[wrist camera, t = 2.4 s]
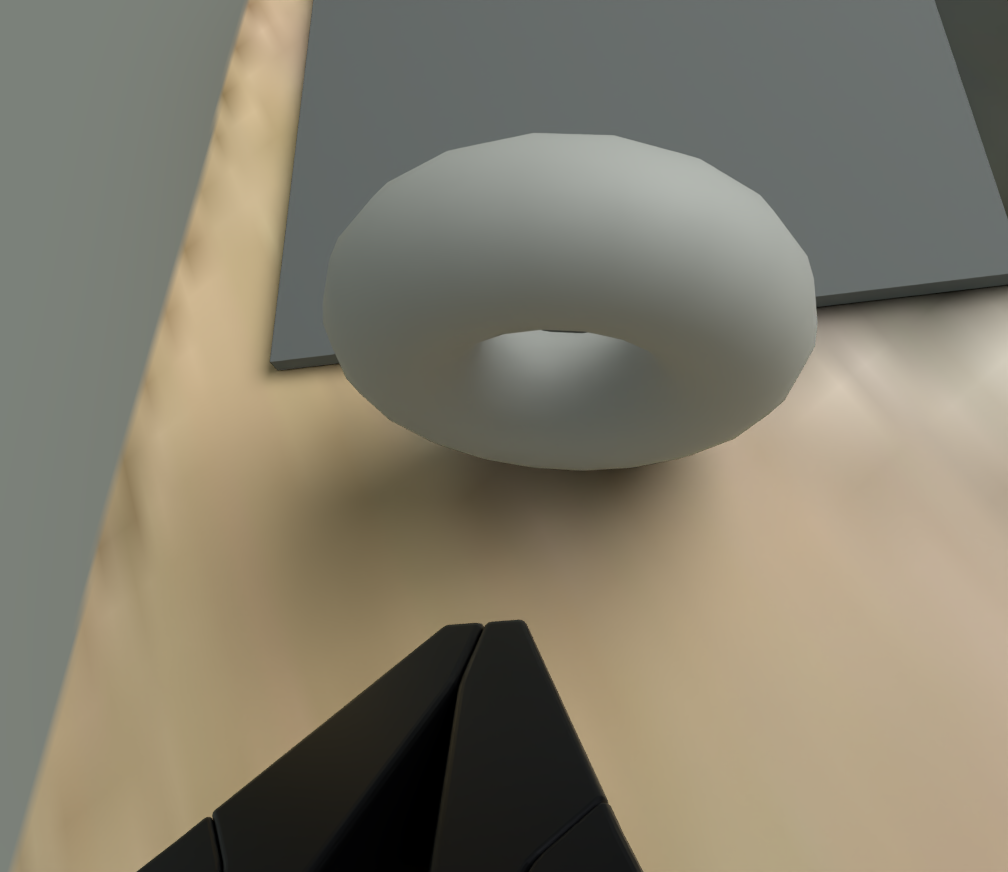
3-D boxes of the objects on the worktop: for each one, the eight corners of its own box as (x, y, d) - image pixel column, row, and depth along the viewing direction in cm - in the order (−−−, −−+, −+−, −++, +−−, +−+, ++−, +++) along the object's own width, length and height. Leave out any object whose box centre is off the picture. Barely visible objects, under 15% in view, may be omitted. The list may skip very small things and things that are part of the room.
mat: (1018, 282, 22) (1025, 271, 21) (277, 370, 25) (270, 362, 25) (864, -185, 30) (867, -201, 30) (328, -73, 34) (323, -85, 33)
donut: (398, 494, 23) (208, 270, 14) (415, 379, 24) (252, 110, 15) (796, 496, 21) (871, 233, 12) (788, 370, 22) (850, 51, 13)
